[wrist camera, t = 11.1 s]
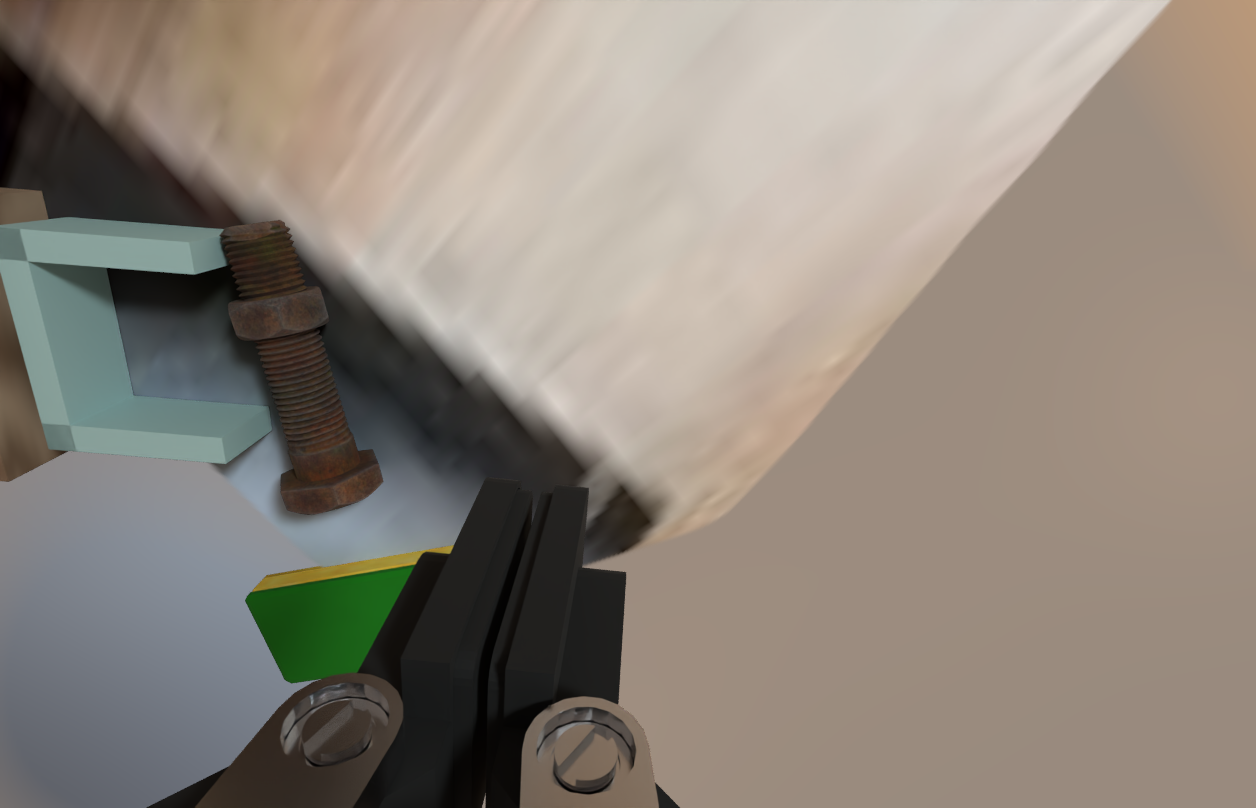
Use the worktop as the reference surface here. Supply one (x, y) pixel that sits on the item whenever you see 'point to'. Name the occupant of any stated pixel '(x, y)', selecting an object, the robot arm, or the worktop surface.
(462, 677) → the robot arm
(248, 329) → the bolt
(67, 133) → the worktop surface
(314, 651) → the dish sponge
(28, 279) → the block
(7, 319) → the wooden plank
